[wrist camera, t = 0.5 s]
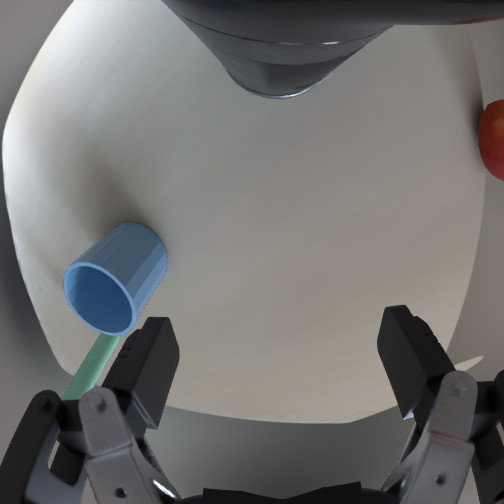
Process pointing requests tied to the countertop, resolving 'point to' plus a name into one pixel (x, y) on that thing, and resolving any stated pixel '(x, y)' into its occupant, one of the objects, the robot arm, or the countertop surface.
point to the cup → (116, 278)
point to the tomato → (492, 138)
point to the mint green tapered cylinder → (91, 367)
